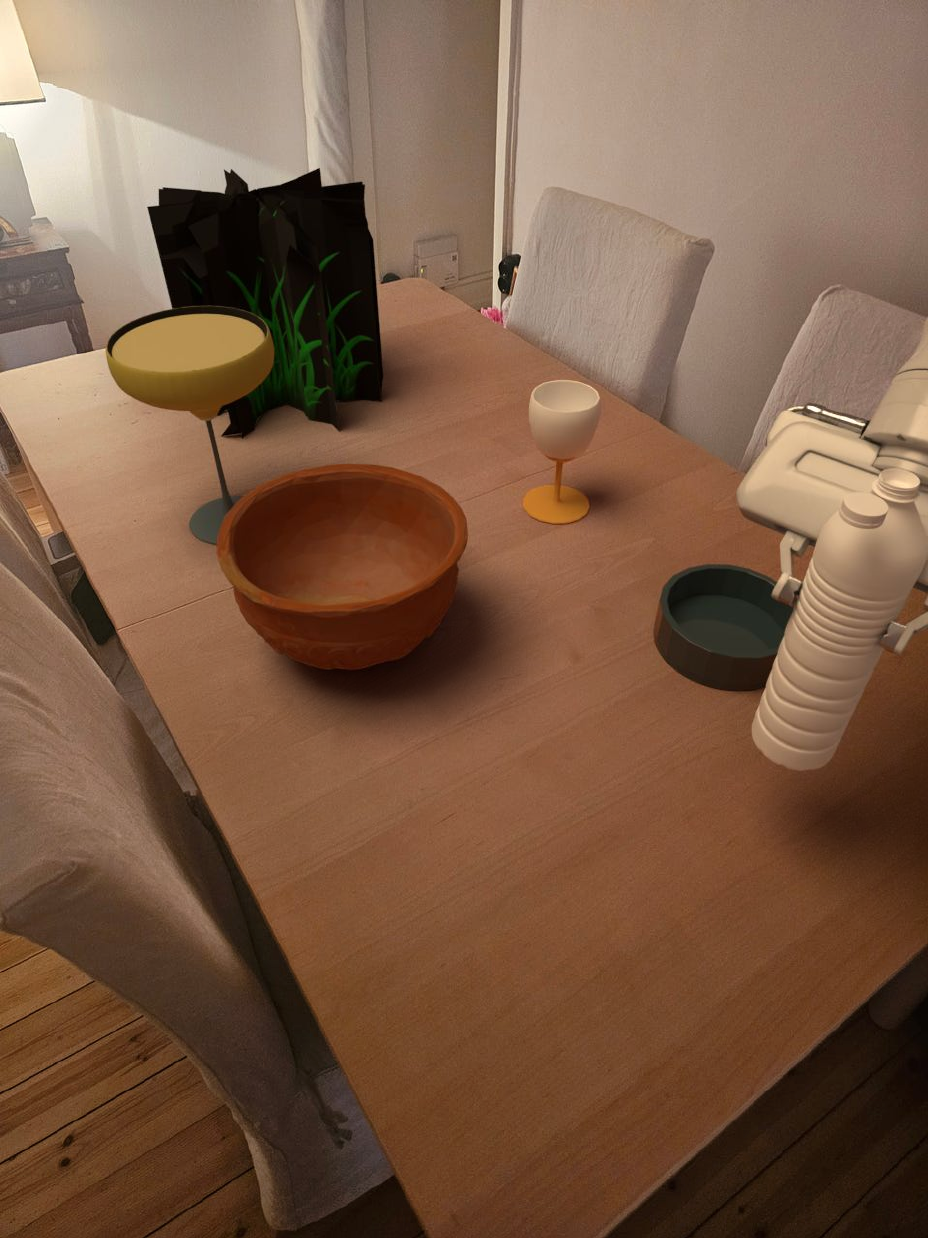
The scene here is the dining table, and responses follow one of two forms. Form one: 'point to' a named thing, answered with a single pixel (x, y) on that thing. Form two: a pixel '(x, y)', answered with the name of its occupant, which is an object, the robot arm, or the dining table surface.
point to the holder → (721, 626)
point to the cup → (561, 444)
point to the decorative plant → (282, 285)
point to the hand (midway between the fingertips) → (834, 626)
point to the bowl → (344, 562)
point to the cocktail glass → (193, 374)
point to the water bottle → (841, 621)
